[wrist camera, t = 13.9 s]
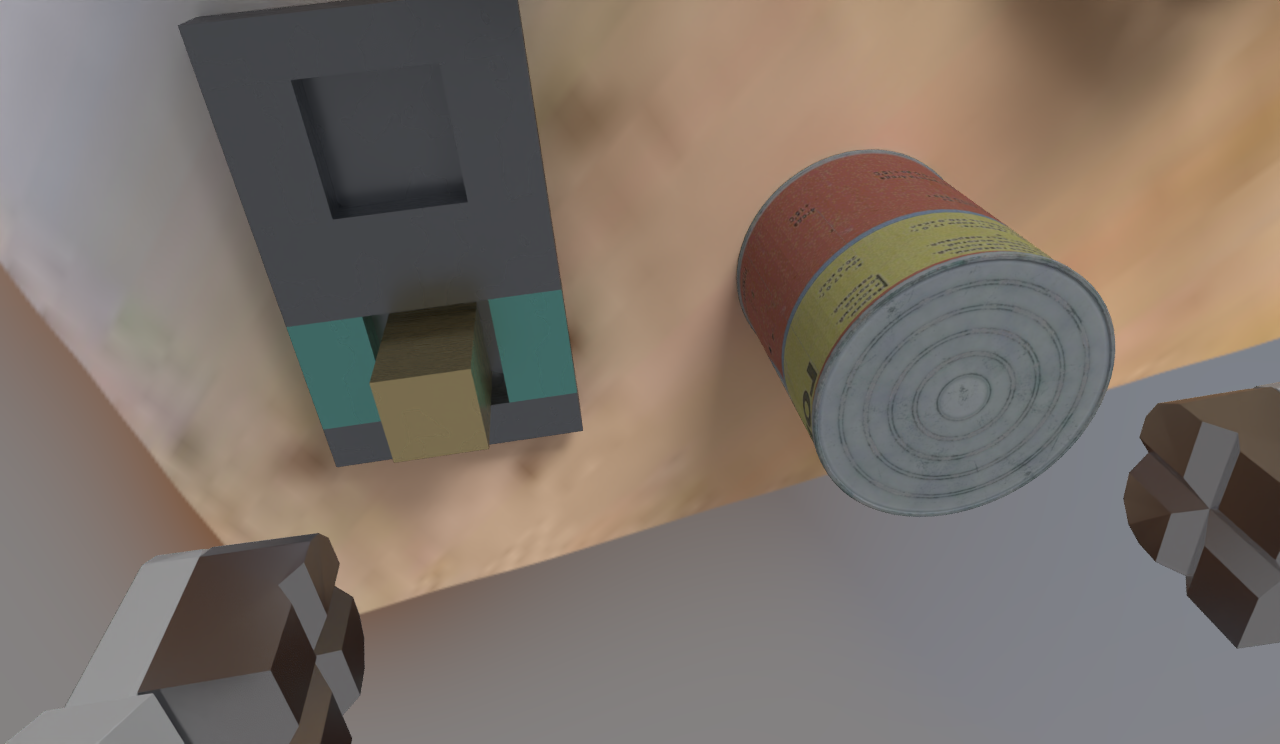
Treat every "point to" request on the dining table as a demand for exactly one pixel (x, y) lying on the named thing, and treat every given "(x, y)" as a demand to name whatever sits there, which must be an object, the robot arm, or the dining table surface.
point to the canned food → (920, 334)
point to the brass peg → (433, 383)
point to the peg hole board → (394, 194)
